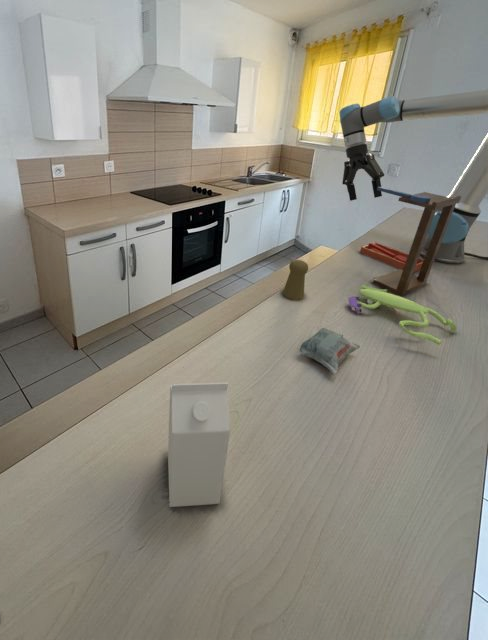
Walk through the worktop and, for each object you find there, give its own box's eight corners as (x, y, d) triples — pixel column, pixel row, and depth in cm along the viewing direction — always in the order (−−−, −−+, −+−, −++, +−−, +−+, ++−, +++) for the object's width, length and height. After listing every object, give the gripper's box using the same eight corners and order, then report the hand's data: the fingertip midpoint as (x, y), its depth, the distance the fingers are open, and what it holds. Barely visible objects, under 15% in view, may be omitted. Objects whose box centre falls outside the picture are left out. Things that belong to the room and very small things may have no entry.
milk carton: (167, 456, 51) (170, 363, 43) (212, 453, 52) (222, 362, 44) (169, 508, 44) (173, 409, 37) (220, 504, 45) (233, 407, 38)
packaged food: (357, 355, 74) (362, 338, 72) (333, 381, 66) (338, 363, 64) (321, 336, 80) (325, 319, 78) (295, 358, 72) (299, 340, 70)
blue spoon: (373, 190, 101) (374, 186, 100) (382, 189, 103) (384, 185, 102) (423, 203, 88) (424, 198, 88) (432, 202, 90) (434, 197, 90)
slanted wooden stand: (372, 283, 105) (400, 194, 94) (397, 272, 113) (425, 188, 102) (402, 297, 98) (437, 202, 86) (427, 284, 106) (461, 196, 94)
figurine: (424, 361, 73) (432, 342, 71) (330, 300, 95) (334, 283, 93) (468, 340, 81) (476, 321, 78) (371, 287, 103) (376, 272, 100)
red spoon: (366, 245, 128) (367, 242, 127) (372, 243, 130) (373, 240, 130) (404, 265, 117) (406, 262, 117) (410, 263, 119) (412, 260, 119)
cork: (301, 290, 99) (308, 258, 95) (305, 301, 94) (313, 267, 90) (281, 288, 100) (287, 256, 96) (284, 299, 94) (291, 265, 90)
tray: (359, 252, 128) (361, 246, 127) (373, 247, 133) (375, 242, 132) (411, 273, 113) (413, 267, 112) (424, 267, 118) (427, 260, 117)
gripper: (328, 154, 139) (337, 202, 140) (371, 138, 114) (381, 197, 116) (343, 151, 140) (351, 199, 142) (389, 135, 116) (398, 193, 117)
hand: (365, 198), depth 129 cm, fingers open, 13 cm apart
